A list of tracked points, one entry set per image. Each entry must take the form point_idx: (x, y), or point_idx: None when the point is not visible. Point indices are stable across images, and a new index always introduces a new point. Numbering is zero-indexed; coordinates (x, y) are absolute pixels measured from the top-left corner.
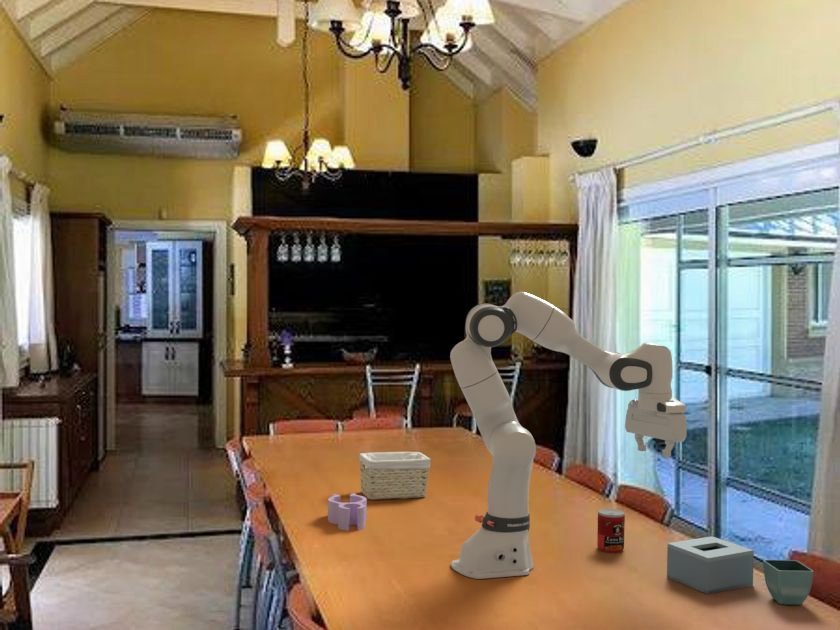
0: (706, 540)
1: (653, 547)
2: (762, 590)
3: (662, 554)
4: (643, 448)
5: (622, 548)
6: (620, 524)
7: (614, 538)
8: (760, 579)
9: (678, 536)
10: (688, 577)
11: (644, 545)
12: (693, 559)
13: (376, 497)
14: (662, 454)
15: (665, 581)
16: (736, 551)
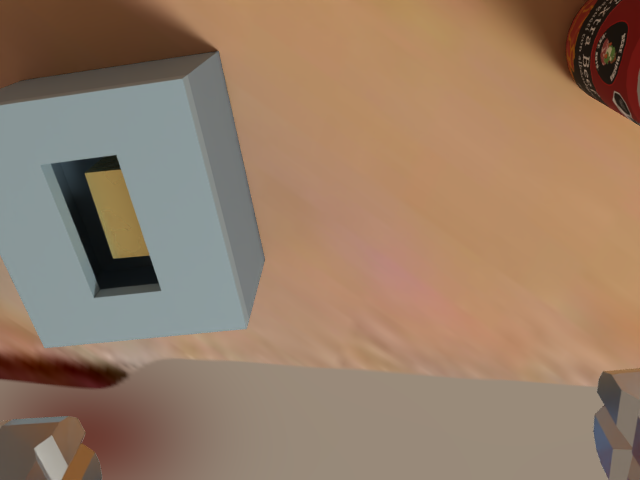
0: (194, 273)
1: (553, 227)
2: None
3: (466, 207)
4: (627, 442)
5: (571, 72)
6: (617, 76)
7: (595, 28)
8: None
9: None
10: (96, 74)
11: (591, 210)
12: (33, 95)
13: None
14: (43, 429)
15: (175, 13)
16: (31, 284)
